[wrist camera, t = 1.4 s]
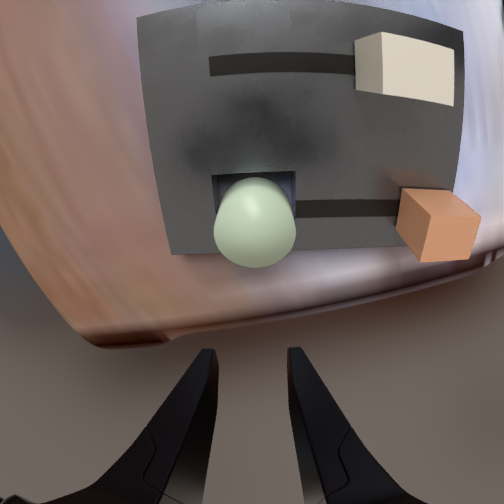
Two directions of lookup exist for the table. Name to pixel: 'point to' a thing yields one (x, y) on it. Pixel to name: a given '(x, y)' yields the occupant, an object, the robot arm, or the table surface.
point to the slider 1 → (404, 68)
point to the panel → (290, 117)
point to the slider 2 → (436, 225)
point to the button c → (255, 223)
